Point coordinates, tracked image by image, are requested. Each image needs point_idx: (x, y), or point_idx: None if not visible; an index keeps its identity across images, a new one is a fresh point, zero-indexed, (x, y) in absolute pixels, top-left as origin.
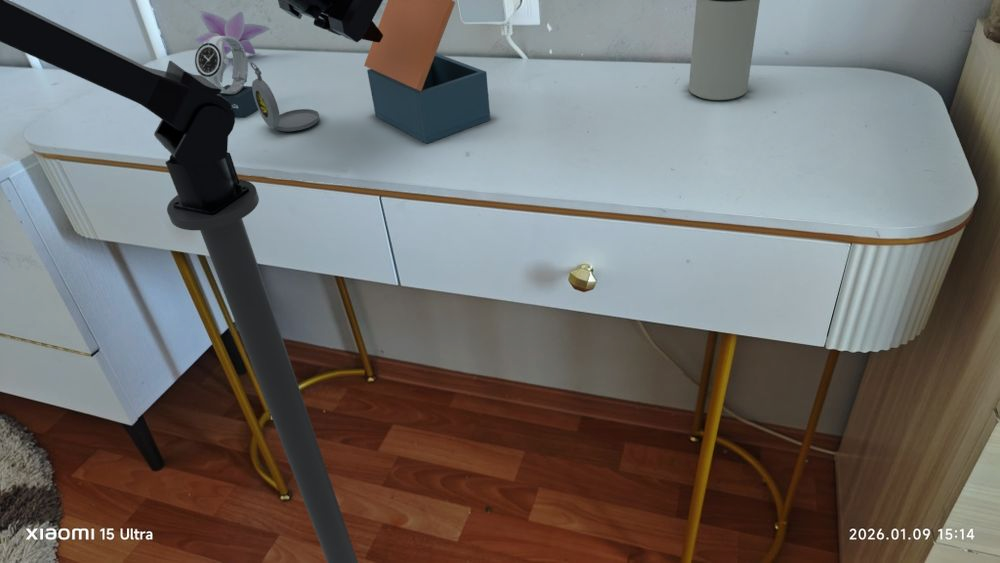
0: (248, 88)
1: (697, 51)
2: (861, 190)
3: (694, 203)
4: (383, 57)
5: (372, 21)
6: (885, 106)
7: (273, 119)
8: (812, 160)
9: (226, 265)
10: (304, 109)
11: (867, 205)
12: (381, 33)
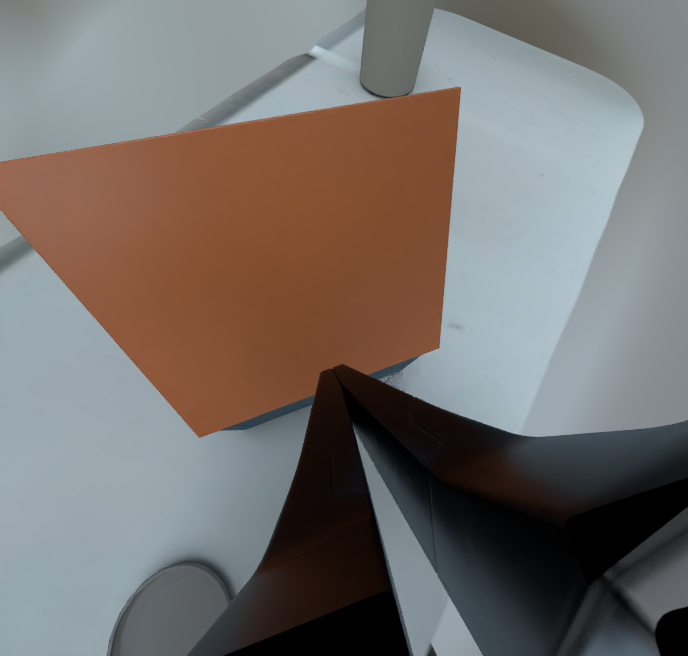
0: None
1: (403, 35)
2: (592, 106)
3: (605, 188)
4: (265, 382)
5: (398, 389)
6: (464, 35)
7: None
8: (542, 103)
9: None
10: (126, 607)
11: (614, 114)
12: (350, 367)
